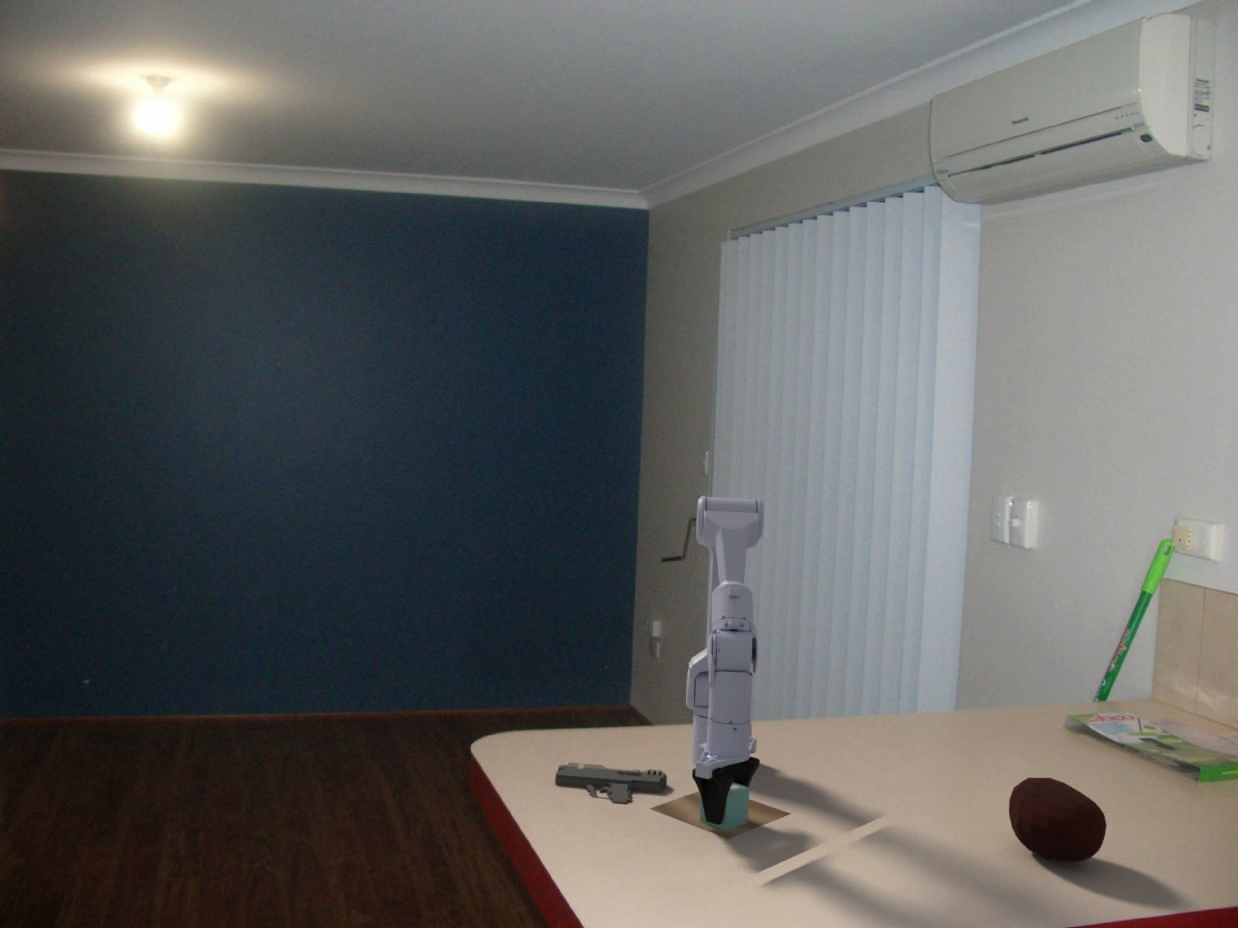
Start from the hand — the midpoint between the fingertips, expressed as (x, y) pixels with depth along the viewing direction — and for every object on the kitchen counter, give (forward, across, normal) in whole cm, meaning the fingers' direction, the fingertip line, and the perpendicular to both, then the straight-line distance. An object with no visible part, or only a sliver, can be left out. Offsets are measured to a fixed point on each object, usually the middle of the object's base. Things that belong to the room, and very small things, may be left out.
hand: (723, 815), depth 164 cm
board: (+2, -4, -2) cm, 5 cm away
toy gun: (+2, -1, -19) cm, 19 cm away
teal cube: (+1, 0, 0) cm, 1 cm away
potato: (+2, -18, +40) cm, 44 cm away
